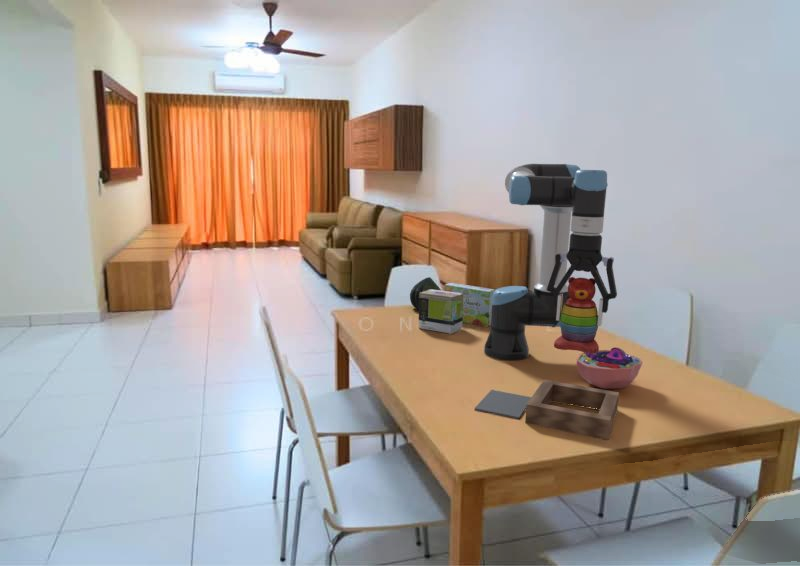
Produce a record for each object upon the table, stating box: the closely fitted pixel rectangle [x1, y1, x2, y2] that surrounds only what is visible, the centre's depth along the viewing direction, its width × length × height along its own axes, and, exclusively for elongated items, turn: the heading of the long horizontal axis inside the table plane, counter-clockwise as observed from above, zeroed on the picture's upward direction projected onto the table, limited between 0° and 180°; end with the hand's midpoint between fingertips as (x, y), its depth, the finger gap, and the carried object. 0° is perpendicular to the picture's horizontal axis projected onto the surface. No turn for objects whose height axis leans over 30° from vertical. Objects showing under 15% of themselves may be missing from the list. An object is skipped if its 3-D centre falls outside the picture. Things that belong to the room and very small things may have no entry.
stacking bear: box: [553, 276, 600, 354], centre depth 148 cm, size 11×10×18 cm
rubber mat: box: [474, 389, 532, 420], centre depth 160 cm, size 12×15×1 cm
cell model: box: [576, 347, 643, 390], centre depth 175 cm, size 17×20×11 cm
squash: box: [409, 276, 442, 310], centre depth 264 cm, size 14×15×15 cm
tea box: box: [418, 289, 463, 335], centre depth 232 cm, size 15×10×15 cm, turn 58°
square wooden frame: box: [524, 379, 620, 441], centre depth 153 cm, size 20×20×5 cm
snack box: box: [444, 282, 496, 328], centre depth 244 cm, size 21×6×15 cm, turn 55°
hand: (578, 321), depth 149 cm, fingers closed on stacking bear, 9 cm apart
